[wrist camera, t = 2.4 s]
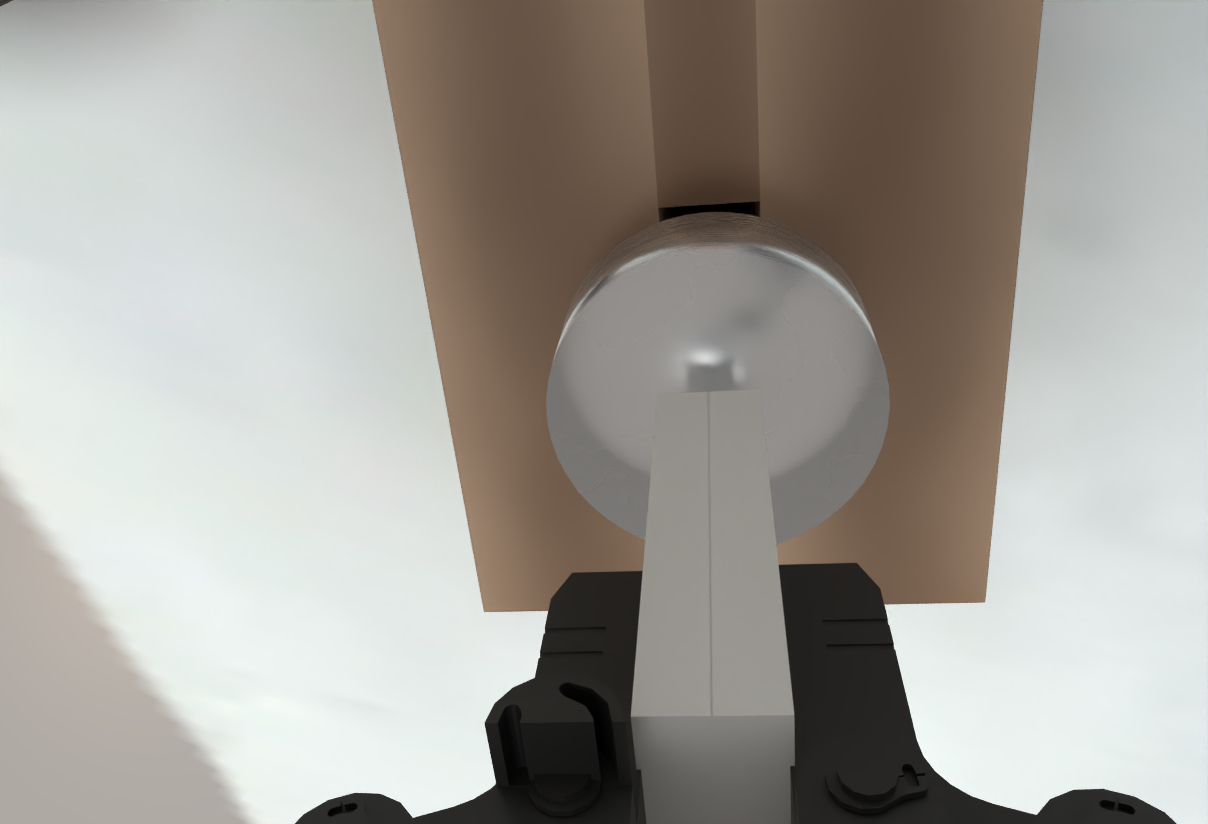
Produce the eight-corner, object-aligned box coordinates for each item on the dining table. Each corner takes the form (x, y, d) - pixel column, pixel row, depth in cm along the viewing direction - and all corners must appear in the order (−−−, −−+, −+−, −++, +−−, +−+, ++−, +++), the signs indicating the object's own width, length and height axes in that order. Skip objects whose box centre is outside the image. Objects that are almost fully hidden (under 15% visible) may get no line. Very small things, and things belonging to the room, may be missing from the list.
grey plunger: (837, 117, 23) (896, 241, 16) (834, 353, 25) (884, 549, 18) (579, 137, 23) (525, 262, 16) (603, 364, 26) (565, 557, 19)
